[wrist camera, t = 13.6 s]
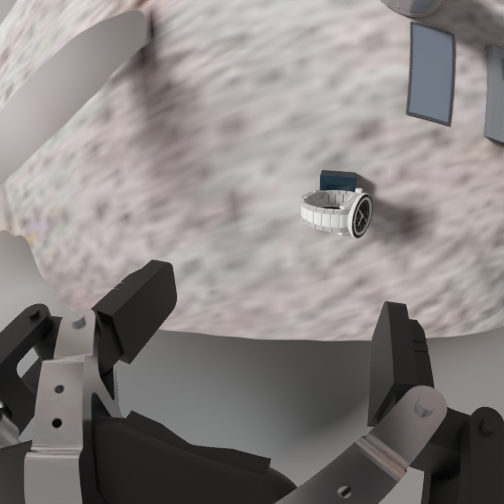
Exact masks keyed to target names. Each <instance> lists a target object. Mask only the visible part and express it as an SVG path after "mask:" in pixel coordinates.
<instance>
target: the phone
mask: <svg viewBox="0 0 504 504" xmlns="http://www.w3.org/2000/svg"><path fill="white" fill-rule="evenodd" d="M453 75H454V34H451V33H448V32H445V31H442V30H439V29H436V28H432V27H429V26H426V25H422V24H419V23H415V22H410V68H409V85H408V98H407V109H406V114H408V115H412V116H416V117H420V118H423V119H427V120H431V121H434V122H438V123H441V124H444V125H448V126H449V123H450V114H451V104H452V92H453Z"/></svg>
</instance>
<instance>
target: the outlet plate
mask: <svg viewBox="0 0 504 504" xmlns="http://www.w3.org/2000/svg"><path fill="white" fill-rule="evenodd" d="M486 50H487V103H486V118H485V129H484V136H486V137H489V138H492V139H495V140H497V141H500V142H503V143H504V50H503V49H501V48H499V47H497V46H494V45H490V46H487V47H486Z"/></svg>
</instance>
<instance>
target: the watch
mask: <svg viewBox="0 0 504 504" xmlns="http://www.w3.org/2000/svg"><path fill="white" fill-rule="evenodd" d="M355 184H356V176H355V173H353V172H341V171H327V170H322V172H321V175H320V190H314V191H313V192H310V193H308V194H306V195H304V196H302V197H301V219H302V221H303V222H304V223H305V224H307V225H309V226H310V227H313V228H316V229H319V230H322V231H328V232H337V233H338V234H339V235H342V236H350V237H353V238H356V239H358V238H360V237H362V236H363V235H364V233H365V232H366V230H367V228H368V226H369V223H370V220H371V216H372V209H373V204H372V198H371V196H370V195H369V194H368V193H363V189H362V188H356V191H355ZM330 224H331V226H330Z"/></svg>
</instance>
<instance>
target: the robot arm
mask: <svg viewBox="0 0 504 504" xmlns="http://www.w3.org/2000/svg"><path fill="white" fill-rule="evenodd" d="M381 1H382V2H383V3H384V4H385V5H387V6H388V7H389V8H391V9H392V10H394V11H396V12H398V13H400V14H403V15H406V16H410V17H425V16H428V15H430V14H432V13H433V12H434V11H435V10H436V9H437V8H438V7H439V6H440V5H441V4H442V3H443V2H444V1H445V0H381ZM176 302H177V292H176V285H175V279H174V272H173V266H172V264H171V263H168V262H163V261H158V260H151V261H150V262H149V263H148V264H146V265H145V266H144V267H143V268H142V269H140V270H137V271H135V272H133V273H131V274H129V275H128V276H127V277H126V278H125V279H123V280H122V281H121V283H119V284H118V285H117V286H116V287H114V289H112V290H111V291H110V292H109V293H108V294H107V295H106V296H105V297H103V298H102V299H101V300H100V301H99V302H98V303H97V304H96V305H95V306H94V307H93V308H91V309H89V308H77V309H74V310H72V311H70V312H68V313H67V314H66V315H65V316H64V317H55V316H51V314H50V312H49V309H48V307H47V306H46V305H44V304H34V305H32V306H30V307H28V308H26V309H25V310H24V311H23V312H22V313H21V314H19V315H18V316H17V317H16V318H15V319H14V320H13V321H12V322H11V323H10V324H9V325H8V326H7V327H6V328H5V329H4V330H3V331H2V332H0V504H378V503H379V502H380V501H381V500H382V499H383V498H384V497H385V496H386V495H387V494H388V493H389V492H390V491H391V490H392V489H393V487H395V485H396V484H397V483H398V482H399V481H400V480H401V479H402V477H403V476H404V475H405V473H406V472H407V470H406V469H407V468H408V467H412V468H415V469H418V470H421V471H424V482H423V491H422V500H421V504H504V421H503V418H502V417H501V415H500V414H499V413H498V412H497V411H496V410H494V409H492V408H489V407H481V408H478V409H477V410H476V411H474V413H473V414H472V415H471V416H470V415H467V414H464V413H461V412H458V411H455V410H453V409H450V408H448V407H447V404H446V401H445V398H444V397H443V395H442V394H441V393H440V392H439V391H437V390H436V389H435V388H434V382H433V375H432V369H431V364H430V357H429V354H428V347H427V344H426V337H425V332H424V330H423V328H422V327H421V325H420V324H419V323H418V321H417V320H412V319H409V317H408V311H407V306H406V304H402V303H395V302H389V301H385V302H384V305H383V307H382V310H381V313H380V316H379V319H378V322H377V325H376V328H375V331H374V334H373V337H372V342H371V349H370V390H369V410H368V423H367V426H370V427H374V428H373V429H372V430H371V431H370V432H369V433H368V434H367V435H366V436H364V437H363V436H362V437H360V438H359V439H358V440H357V441H355V442H354V443H353V444H352V445H351V446H350V447H349V448H347V449H346V450H345V451H344V452H343V453H342V454H340V455H339V456H338V457H337V458H336V459H335V460H333V461H332V462H331V463H330V464H328V465H327V466H326V467H325V468H324V469H322V470H321V471H320V472H318V473H317V474H316V475H314V476H313V477H312V478H310V479H309V480H308V481H307V482H305V483H304V484H302V485H301V486H299V487H297V486H296V485H295V484H294V483H293V482H292V481H291V480H290V479H288V478H287V477H286V476H285V475H283V474H281V473H280V472H278V471H276V470H274V469H272V468H270V461H271V459H270V458H265V457H261V456H257V455H253V454H250V453H246V452H242V451H238V450H235V449H227V448H215V447H205V446H196V445H192V444H189V443H188V442H186V441H185V440H183V439H181V438H180V437H179V436H177V435H176V434H174V433H173V432H172V431H170V430H169V429H168V428H166V427H165V426H164V425H162V424H161V423H158V422H156V421H154V420H151V419H149V418H147V417H144V416H142V415H140V414H138V413H136V412H134V411H131V412H130V414H129V415H128V416H127V418H123V417H122V414H121V411H120V407H119V398H118V397H119V396H118V381H117V367H116V365H115V364H116V362H117V361H118V360H121V361H123V362H126V363H128V364H130V363H131V362H132V361H133V360H134V358H135V357H136V356H137V354H138V353H139V352H140V351H141V349H142V348H143V347H144V346H145V344H146V343H147V342H148V341H149V339H150V338H151V337H152V336H153V334H154V333H155V332H156V331H157V329H158V328H159V327H160V326H161V324H162V323H163V322H164V321H165V320H166V318H167V317H168V316H169V315H170V313H171V312H172V311H173V310H174V308H175V305H176ZM32 347H33V348H34V350H35V352H36V353H37V355H38V357H39V358H38V359H37V361H36V362H35V363H34V364H33V365H32V366H31V367H30V369H29V370H28V371H27V372H26V373H25V374H24V375H23V377H22V378H20V377H19V376H18V374H17V364H18V363H19V361H20V360H21V359H22V358H23V357H24V356H25V355H26V353H28V351H29V350H30V349H31V348H32ZM33 417H34V426H33V438H32V440H31V441H27V442H23V443H22V442H21V441H20V440H19V436H20V435H21V433H22V432H23V430H24V429H25V428H26V426H27V425H28V424H29V422H30V421H31V419H32V418H33Z"/></svg>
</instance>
